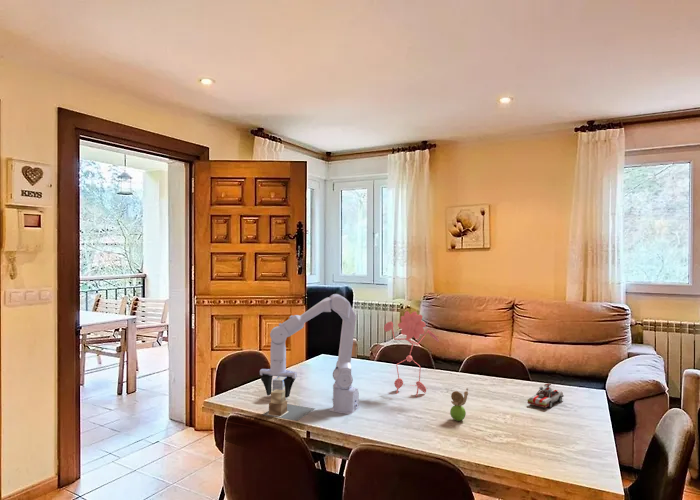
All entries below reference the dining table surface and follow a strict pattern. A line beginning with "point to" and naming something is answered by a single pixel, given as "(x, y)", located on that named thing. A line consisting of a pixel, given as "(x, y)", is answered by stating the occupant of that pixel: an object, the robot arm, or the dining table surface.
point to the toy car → (546, 397)
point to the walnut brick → (278, 408)
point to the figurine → (410, 328)
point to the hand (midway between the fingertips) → (278, 395)
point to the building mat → (293, 412)
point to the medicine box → (279, 383)
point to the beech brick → (278, 396)
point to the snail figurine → (458, 405)
